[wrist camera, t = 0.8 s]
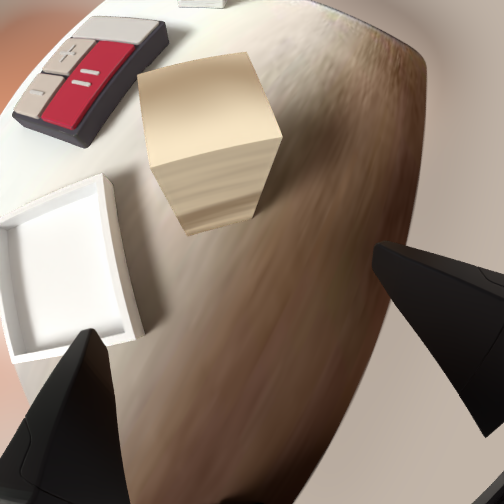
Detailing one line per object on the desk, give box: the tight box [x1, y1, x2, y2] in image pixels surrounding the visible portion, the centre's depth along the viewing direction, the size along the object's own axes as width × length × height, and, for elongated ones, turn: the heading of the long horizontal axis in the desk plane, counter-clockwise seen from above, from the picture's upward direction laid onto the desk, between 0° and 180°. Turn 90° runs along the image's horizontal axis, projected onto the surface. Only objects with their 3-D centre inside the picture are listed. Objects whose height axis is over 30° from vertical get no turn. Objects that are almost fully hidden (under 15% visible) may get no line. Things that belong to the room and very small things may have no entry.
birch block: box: [137, 52, 283, 236], centre depth 16 cm, size 5×5×12 cm
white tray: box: [0, 173, 145, 364], centre depth 19 cm, size 12×12×2 cm
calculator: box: [12, 16, 169, 148], centre depth 21 cm, size 11×4×15 cm
